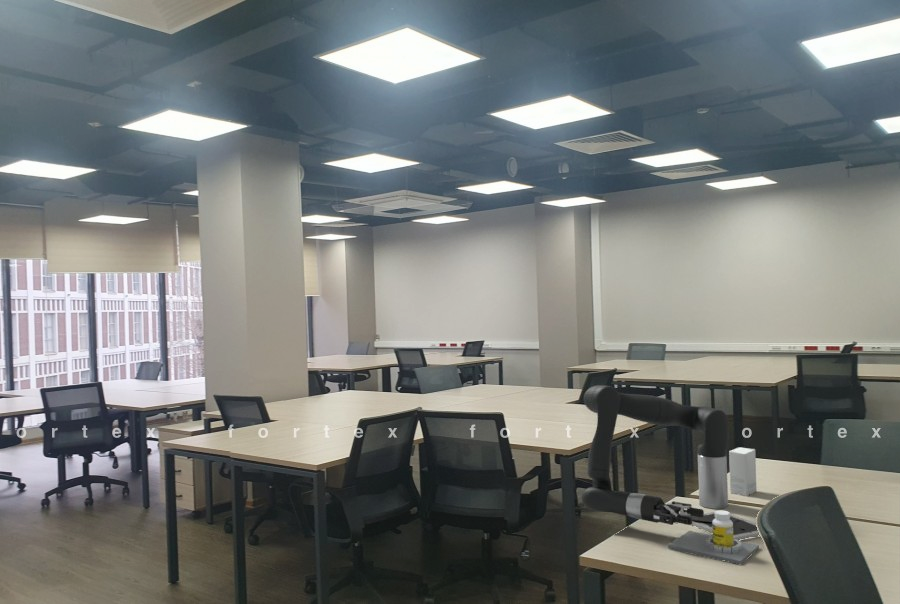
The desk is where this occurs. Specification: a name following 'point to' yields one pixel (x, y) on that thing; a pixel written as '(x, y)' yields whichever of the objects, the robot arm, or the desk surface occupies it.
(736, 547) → the steel ring collar
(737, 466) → the skincare box
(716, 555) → the grey flat rectangular slab
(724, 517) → the supplement bottle
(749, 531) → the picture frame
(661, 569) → the desk surface
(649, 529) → the desk surface
